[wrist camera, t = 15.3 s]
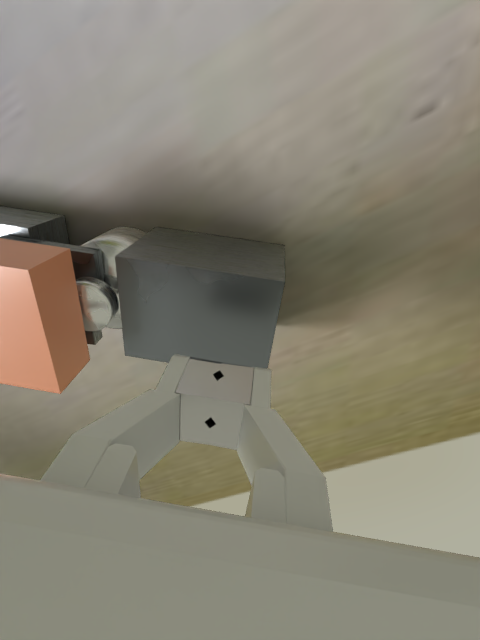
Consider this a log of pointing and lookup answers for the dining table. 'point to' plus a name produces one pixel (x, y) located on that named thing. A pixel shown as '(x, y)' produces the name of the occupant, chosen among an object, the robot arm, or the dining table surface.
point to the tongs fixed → (175, 287)
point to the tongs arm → (96, 306)
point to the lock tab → (39, 317)
